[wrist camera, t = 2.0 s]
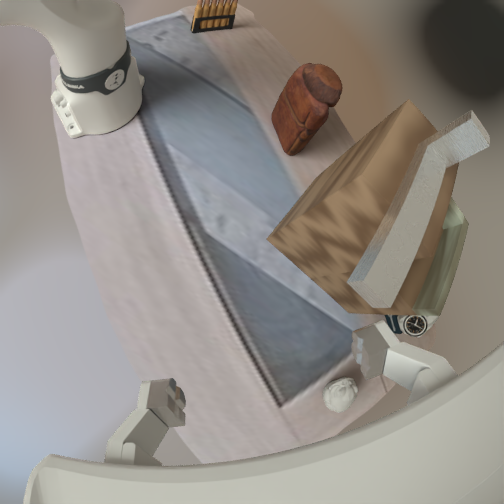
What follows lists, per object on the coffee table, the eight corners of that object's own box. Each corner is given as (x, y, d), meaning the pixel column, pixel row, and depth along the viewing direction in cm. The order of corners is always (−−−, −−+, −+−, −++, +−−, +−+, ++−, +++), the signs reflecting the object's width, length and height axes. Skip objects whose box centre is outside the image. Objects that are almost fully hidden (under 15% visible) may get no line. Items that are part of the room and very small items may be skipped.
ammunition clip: (192, 33, 49) (198, -4, 37) (190, 30, 49) (196, -7, 37) (232, 28, 52) (242, -6, 40) (229, 25, 52) (239, -9, 41)
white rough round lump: (344, 367, 45) (366, 375, 38) (343, 401, 44) (364, 412, 37) (315, 374, 43) (335, 384, 36) (314, 408, 42) (334, 422, 35)
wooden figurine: (311, 155, 50) (363, 103, 33) (282, 158, 48) (328, 100, 31) (292, 108, 51) (330, 50, 34) (264, 109, 49) (297, 45, 32)
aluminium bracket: (346, 282, 18) (437, 270, 10) (418, 143, 23) (471, 109, 15) (372, 307, 18) (462, 306, 11) (435, 164, 23) (489, 135, 16)
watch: (376, 313, 48) (416, 314, 37) (401, 295, 50) (441, 292, 40) (384, 338, 48) (423, 343, 37) (408, 318, 50) (447, 319, 39)
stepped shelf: (266, 239, 45) (361, 174, 20) (316, 177, 49) (408, 98, 24) (348, 312, 46) (471, 315, 22) (386, 247, 51) (493, 216, 26)
